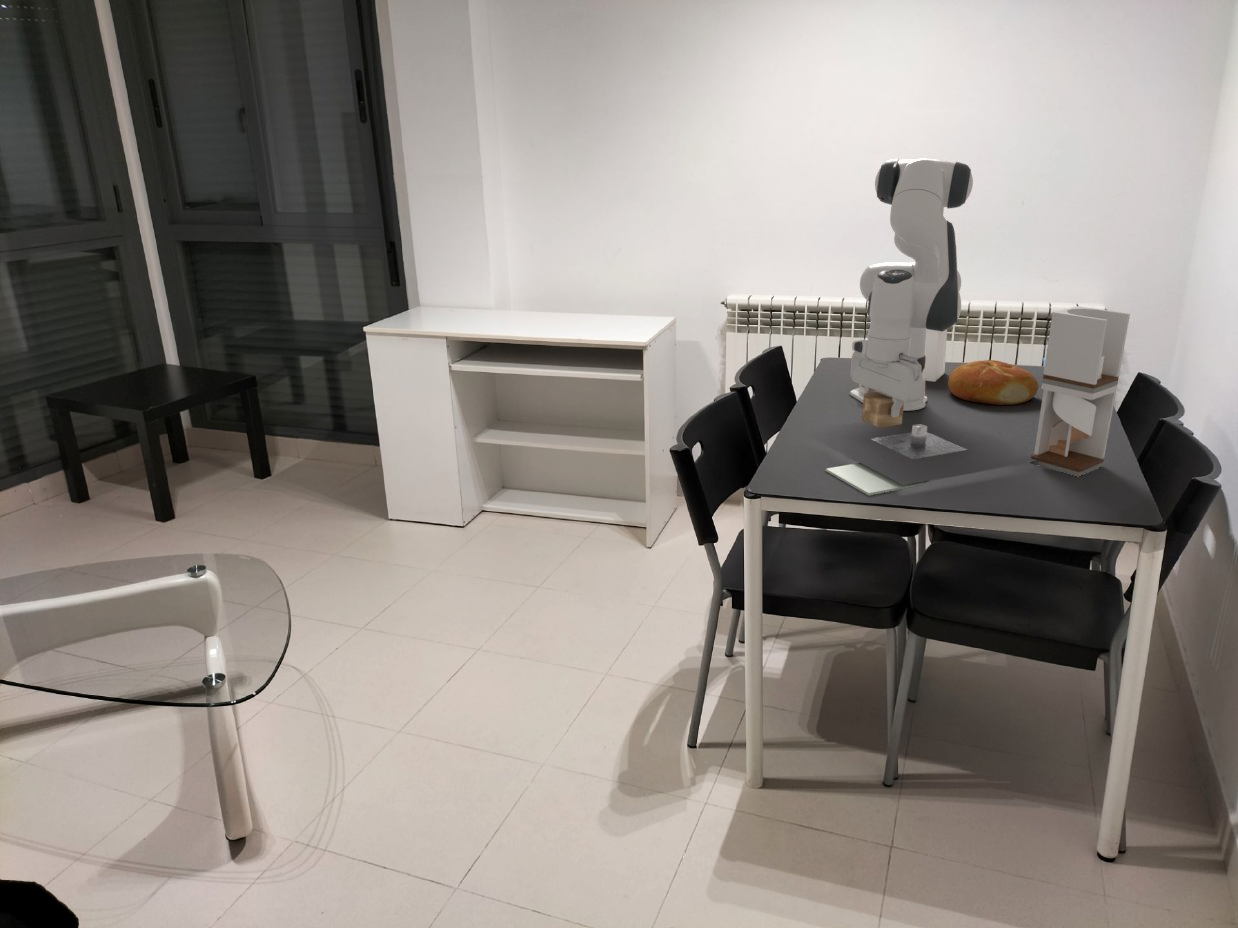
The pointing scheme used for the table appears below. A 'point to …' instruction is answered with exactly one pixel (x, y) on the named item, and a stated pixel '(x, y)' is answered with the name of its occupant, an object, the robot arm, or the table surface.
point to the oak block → (879, 410)
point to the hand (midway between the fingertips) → (882, 411)
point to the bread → (992, 383)
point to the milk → (935, 354)
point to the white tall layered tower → (1079, 388)
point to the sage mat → (868, 479)
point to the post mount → (918, 443)
